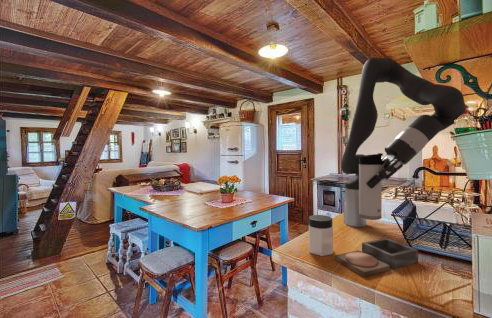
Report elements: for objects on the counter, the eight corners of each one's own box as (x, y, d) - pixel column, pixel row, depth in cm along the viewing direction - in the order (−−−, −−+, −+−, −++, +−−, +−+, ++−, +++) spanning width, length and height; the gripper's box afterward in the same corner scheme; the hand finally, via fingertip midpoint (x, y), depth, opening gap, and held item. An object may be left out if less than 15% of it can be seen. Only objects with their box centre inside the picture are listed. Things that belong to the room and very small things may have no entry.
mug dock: (334, 259, 82) (334, 247, 81) (385, 248, 90) (385, 237, 89) (364, 277, 70) (364, 263, 70) (418, 262, 78) (419, 250, 78)
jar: (323, 245, 94) (323, 213, 93) (338, 253, 86) (338, 219, 86) (303, 248, 91) (303, 216, 90) (316, 257, 83) (316, 222, 83)
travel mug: (385, 220, 74) (386, 153, 73) (362, 219, 75) (362, 153, 74) (378, 214, 80) (378, 153, 79) (356, 214, 81) (356, 153, 80)
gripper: (386, 138, 83) (349, 173, 85) (408, 136, 68) (363, 179, 71) (403, 153, 82) (365, 189, 84) (429, 155, 68) (383, 197, 70)
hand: (365, 184), depth 77 cm, fingers closed on travel mug, 6 cm apart
